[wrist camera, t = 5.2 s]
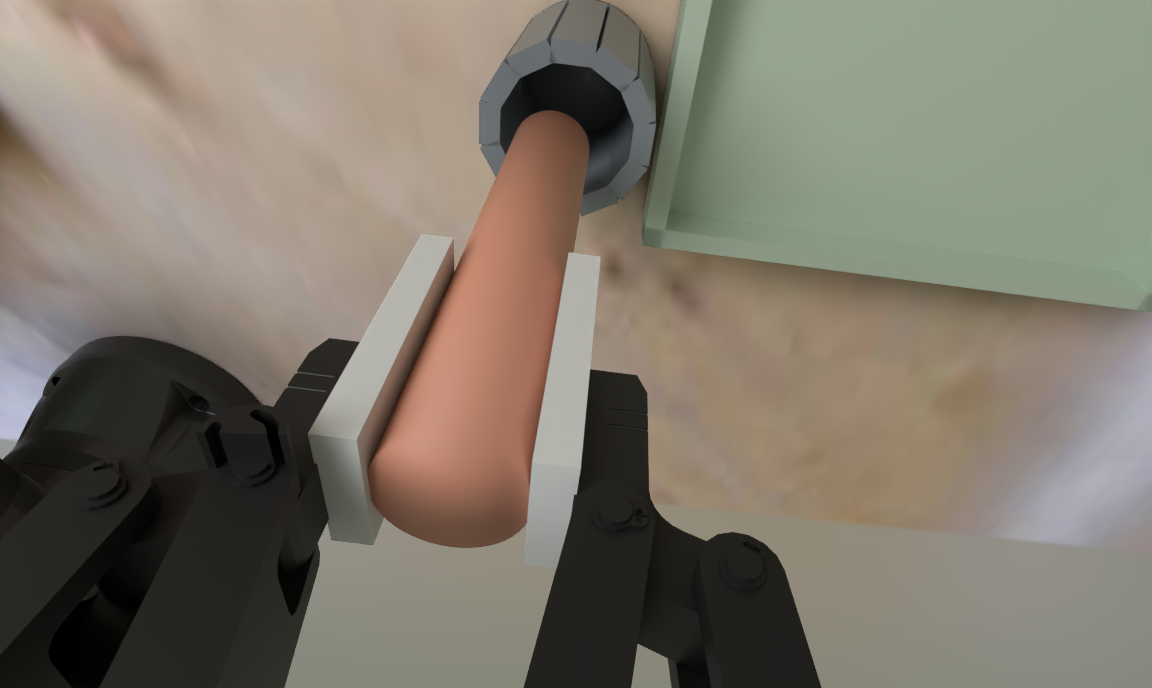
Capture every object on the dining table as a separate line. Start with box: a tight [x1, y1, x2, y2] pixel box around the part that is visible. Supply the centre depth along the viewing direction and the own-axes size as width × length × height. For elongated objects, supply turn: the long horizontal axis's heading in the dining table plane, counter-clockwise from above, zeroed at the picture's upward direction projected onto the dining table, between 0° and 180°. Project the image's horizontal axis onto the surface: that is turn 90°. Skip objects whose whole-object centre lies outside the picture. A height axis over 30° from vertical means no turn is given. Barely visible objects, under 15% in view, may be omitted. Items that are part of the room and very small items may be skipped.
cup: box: [479, 0, 656, 216], centre depth 27 cm, size 7×7×8 cm
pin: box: [367, 110, 590, 548], centre depth 17 cm, size 6×3×16 cm, turn 85°
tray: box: [642, 0, 1152, 312], centre depth 28 cm, size 26×18×3 cm
